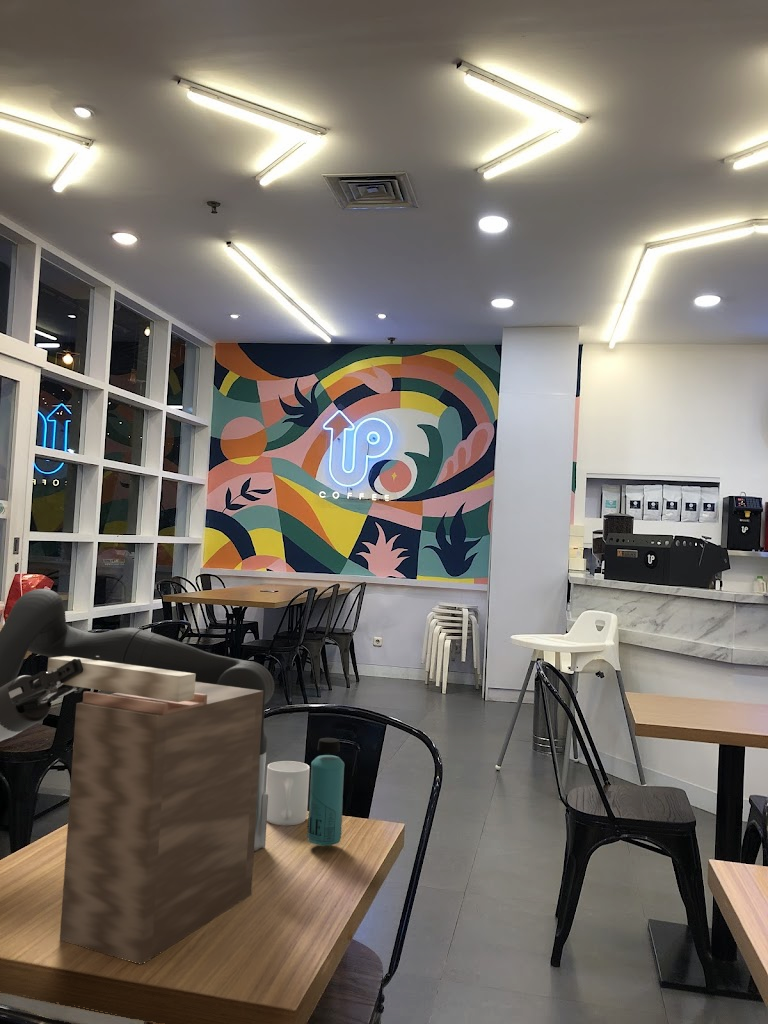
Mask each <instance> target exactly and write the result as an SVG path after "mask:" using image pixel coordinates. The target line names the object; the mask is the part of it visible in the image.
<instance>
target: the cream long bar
mask: <svg viewBox="0 0 768 1024" xmlns="http://www.w3.org/2000/svg"><path fill="white" fill-rule="evenodd" d="M73 659H80V660H81V664H82V667H83V672H82V673H81V674H79V675H77V676H75V677H74V678H72V679H70V680H68V681H67V682H63V683H64V685H70V686H77V687H83V688H84V689H90V690H96V691H97V690H98V691H103V692H111V693H122V694H128V695H135V696H141V697H147V698H154V699H160V700H167V701H173V702H182V701H186V700H191V699H194V691H195V677H196V674H195V673H187V672H180V671H173V670H165V669H158V668H151V667H144V666H136V665H129V664H122V663H114V662H107V661H100V660H92V659H85V658H78V657H71V656H61V657H48V659H47V671H46V672H49V671H51V670H52V669H54V668H60V667H61V666H63V665H65V664H67V663H68V662H70V661H72V660H73Z"/></svg>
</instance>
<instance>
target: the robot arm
mask: <svg viewBox="0 0 768 1024" xmlns="http://www.w3.org/2000/svg"><path fill="white" fill-rule="evenodd" d="M28 652H30V653H32V654H36V655H40V656H46V657H48V658H53V657H61V656H71V657H78V658H85V659H92V660H100V661H107V662H114V663H122V664H129V665H136V666H144V667H151V668H158V669H165V670H173V671H180V672H187V673H195V674H196V677H195V682H201V683H209V684H216V685H224V686H231V687H239V688H246V689H254V690H261V691H263V707H262V724H261V741H260V758H259V775H258V792H257V809H256V826H255V843H254V852H257V851H258V850H260V849H261V848H265V847H266V838H267V825H268V824H267V823H268V821H267V807H268V794H267V793H266V791H265V782H266V781H265V779H266V761H267V748H268V747H267V745H268V739H267V736H266V734H265V728H264V727H265V725H264V724H265V705H266V704H267V703H269V701H270V700H271V699H272V697H273V695H274V692H275V681H274V677H273V675H272V674H271V672H270V671H269V670H268V669H267V668H266V667H265V666H263V664H260V663H258V662H256V661H252V660H251V661H250V660H245V659H239V658H233V657H230V656H225V655H224V656H223V655H219V654H216V653H211V652H207V651H204V650H202V649H199V648H197V647H194V646H191V645H189V644H187V643H184V642H181V641H178V640H176V639H173V638H169V637H166V636H163V635H161V634H157V633H154V632H152V631H148V630H145V629H144V630H143V629H141V628H137V627H121V628H116V629H112V630H109V631H104V632H91V631H90V632H88V631H85V630H82V629H78V628H75V627H73V626H70V625H69V624H67V619H66V608H65V605H64V601H63V598H62V597H61V596H60V594H59V593H57V592H55V591H54V590H51V589H49V588H48V589H47V588H37V589H32V590H29V591H28V592H25V593H23V595H21V596H19V598H18V599H17V600H16V601H15V603H14V605H13V606H12V607H11V609H10V611H9V614H8V616H7V618H6V620H5V622H4V624H3V626H2V627H1V629H0V743H1V742H3V741H5V740H7V739H9V738H13V737H15V736H16V735H19V734H20V733H22V732H23V731H25V730H28V729H29V728H31V727H33V726H34V725H36V724H38V723H39V722H41V721H43V720H44V719H45V718H46V717H48V715H49V713H50V711H51V708H52V704H53V703H56V702H58V701H60V700H62V698H63V697H64V696H66V695H68V694H70V693H72V692H74V694H78V693H81V692H82V691H83V690H84V689H85V688H83V687H77V686H70V685H64V683H63V682H67V681H68V680H70V679H72V678H74V677H75V676H77V675H79V674H81V673H82V672H83V667H82V664H81V660H80V659H73V660H72V661H70V662H68V663H67V664H65V665H63V666H61V667H60V668H54V669H52V670H51V671H49V672H47V671H46V670H41V671H39V672H38V673H35V674H34V675H28V674H24V675H19V673H20V670H21V668H22V664H23V662H24V660H25V657H26V655H27V653H28ZM18 675H19V676H18Z"/></svg>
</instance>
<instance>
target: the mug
mask: <svg viewBox="0 0 768 1024" xmlns="http://www.w3.org/2000/svg"><path fill="white" fill-rule="evenodd" d="M310 768H311V767H310V765H308V764H307V763H304V762H302V761H301V762H300V761H296V760H295V761H292V760H281V761H274V762H270V763H269V764H267V767H266V781H265V782H266V783H265V793H267V794H268V807H267V823H270V824H271V825H275V826H276V825H277V826H284V827H287V826H295V825H296V826H297V825H300V824H303V823H304V822H305V821H306V820H307V817H308V808H309V790H310V771H311V769H310Z"/></svg>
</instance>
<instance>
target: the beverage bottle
mask: <svg viewBox="0 0 768 1024" xmlns="http://www.w3.org/2000/svg"><path fill="white" fill-rule="evenodd" d="M317 751H318V752H319V753H324V754H323V755H318V756H316V757H315V758H314V759H313V760H312V761H311V764H310V766H311V767H310V768H311V769H310V771H311V772H310V780H309V789H308V794H309V802H308V816H307V817H308V818H307V833H306V836H307V839H308V841H309V843H310V844H314V845H317V846H332V845H333V846H334V845H337V844H339V843H340V842H341V839H342V835H343V831H342V827H343V813H344V812H343V804H344V799H343V795H344V775H345V762H344V761H343V759H341V757H339V756H336V755H332V754H334V753H339V752H340V751H341V749H340V740H339V739H337V738H336V737H335V738H334V737H322V738H319V739H318V743H317ZM326 753H327V754H326Z"/></svg>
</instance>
